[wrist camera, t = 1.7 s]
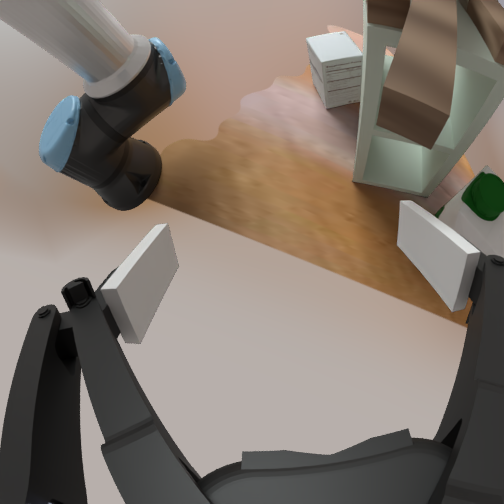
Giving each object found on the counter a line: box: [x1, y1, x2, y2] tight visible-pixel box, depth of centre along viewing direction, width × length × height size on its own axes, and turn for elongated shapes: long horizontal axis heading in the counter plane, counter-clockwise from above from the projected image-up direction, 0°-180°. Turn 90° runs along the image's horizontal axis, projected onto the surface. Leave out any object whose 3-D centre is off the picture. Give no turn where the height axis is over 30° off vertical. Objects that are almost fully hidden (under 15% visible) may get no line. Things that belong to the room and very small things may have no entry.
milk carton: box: [435, 166, 504, 258], centre depth 27 cm, size 9×9×20 cm
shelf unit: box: [352, 0, 504, 198], centre depth 27 cm, size 14×13×30 cm
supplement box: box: [306, 31, 363, 109], centre depth 40 cm, size 7×7×13 cm
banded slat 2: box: [458, 0, 504, 65], centre depth 10 cm, size 13×3×3 cm, turn 170°
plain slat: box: [376, 0, 457, 150], centre depth 11 cm, size 28×3×3 cm, turn 152°
